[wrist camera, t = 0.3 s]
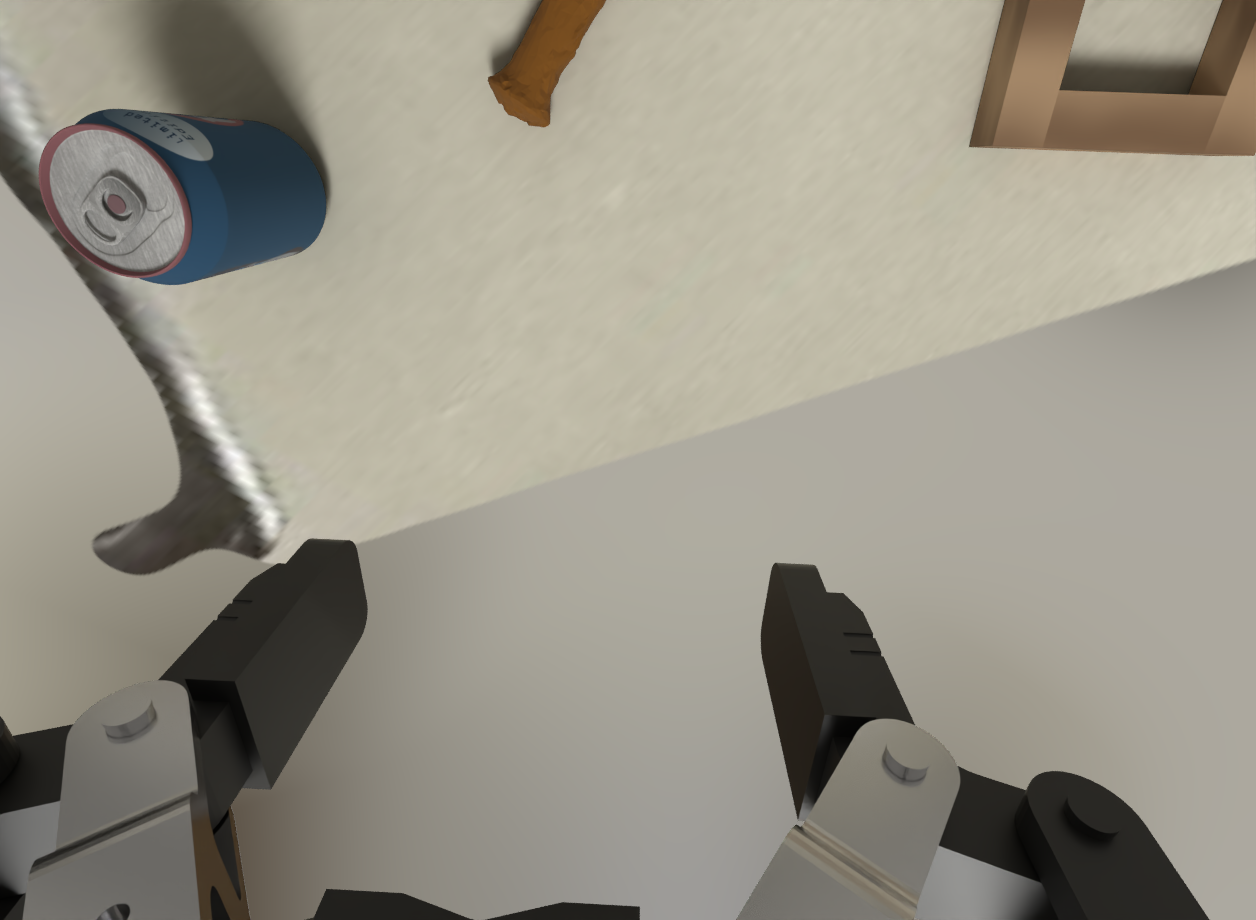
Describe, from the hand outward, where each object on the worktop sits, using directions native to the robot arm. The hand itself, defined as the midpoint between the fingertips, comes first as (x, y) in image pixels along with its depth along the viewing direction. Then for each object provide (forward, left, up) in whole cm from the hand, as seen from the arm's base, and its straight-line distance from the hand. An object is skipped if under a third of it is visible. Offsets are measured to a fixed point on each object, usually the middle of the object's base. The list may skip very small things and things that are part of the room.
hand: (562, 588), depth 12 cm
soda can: (-5, -20, -29) cm, 35 cm away
